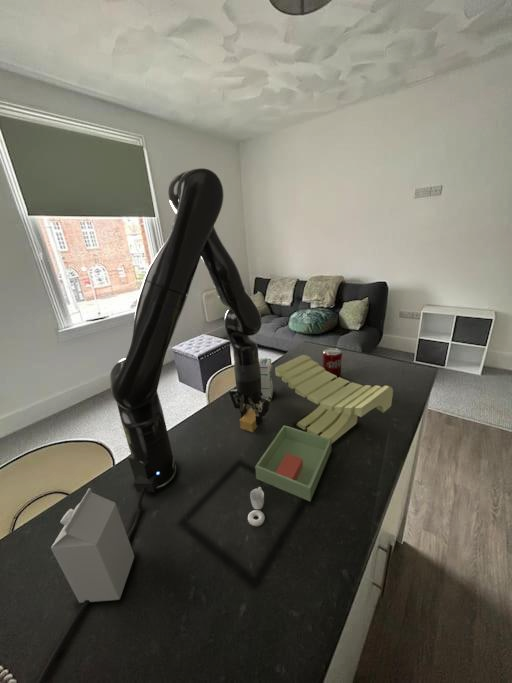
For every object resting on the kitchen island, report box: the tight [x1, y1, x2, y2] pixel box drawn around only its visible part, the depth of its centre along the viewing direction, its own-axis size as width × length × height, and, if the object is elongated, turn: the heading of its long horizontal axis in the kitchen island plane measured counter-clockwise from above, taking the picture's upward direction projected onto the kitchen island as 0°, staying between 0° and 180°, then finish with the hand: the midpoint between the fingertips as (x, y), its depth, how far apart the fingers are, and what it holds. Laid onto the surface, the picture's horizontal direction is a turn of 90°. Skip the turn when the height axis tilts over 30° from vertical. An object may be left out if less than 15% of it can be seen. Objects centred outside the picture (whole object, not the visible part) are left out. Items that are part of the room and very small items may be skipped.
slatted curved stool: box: [274, 354, 394, 445], centre depth 85 cm, size 30×16×18 cm, turn 39°
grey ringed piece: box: [247, 486, 266, 527], centre depth 62 cm, size 9×8×4 cm
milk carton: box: [50, 487, 135, 604], centre depth 48 cm, size 7×7×19 cm
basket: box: [254, 424, 332, 502], centre depth 73 cm, size 17×14×4 cm
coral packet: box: [275, 454, 303, 480], centre depth 70 cm, size 7×4×3 cm, turn 150°
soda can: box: [322, 347, 343, 378], centre depth 112 cm, size 7×7×12 cm
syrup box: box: [258, 357, 274, 399], centre depth 102 cm, size 6×6×14 cm
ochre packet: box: [239, 407, 264, 433], centre depth 87 cm, size 7×4×3 cm, turn 150°
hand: (252, 421), depth 87 cm, fingers closed on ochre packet, 4 cm apart
